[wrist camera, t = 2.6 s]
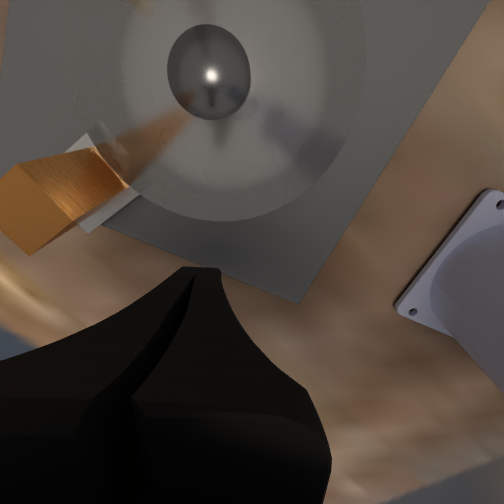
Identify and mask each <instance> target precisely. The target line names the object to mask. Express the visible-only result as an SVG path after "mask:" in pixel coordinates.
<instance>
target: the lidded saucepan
mask: <svg viewBox="0 0 504 504" xmlns="http://www.w3.org/2000/svg"><path fill="white" fill-rule="evenodd" d="M63 52H64V60H65V68H66V75H67V79H68V83H69V87H70V92H71V96H72V98H73V101H74V104H75V107H76V110H77V113H78V115H79V118H80V120H81V122H82V124H83V126H84V128H85V130H86V132H87V133H86V134H85V135H83V136H82V137H81V138H80V139H79V140H78V141H77V142H76V143H74V144H73V145H72V146H71V147H70V148H69V149H68V150H67V151H65V152H64V153H62V154H58V155H53V156H49V157H45V158H40V159H36V160H31V161H27V162H22V163H18V164H16V165H15V166H14V167H12V168H11V169H10V170H9V171H8V172H7V173H6V174H5V175H4V176H3V177H2V178H1V179H0V230H1V231H2V232H3V233H4V234H5V235H6V236H7V237H9V238H10V239H11V240H12V241H13V242H14V243H15V244H16V245H17V246H18V247H20V248H21V249H22V250H23V251H24V252H25V253H26V254H27V255H28V256H30V255H32V254H33V253H35V252H36V251H38V250H39V249H41V248H42V247H44V246H45V245H47V244H49V243H50V242H52V241H53V240H55V239H56V238H58V237H59V236H61V235H62V234H64V233H65V232H67V231H69V230H70V229H72V228H73V227H75V226H76V225H79V226H80V227H81V228H82V229H83V230H84V231H85V232H86V233H87V234H89V233H90V232H91V231H93V230H94V229H95V228H97V227H98V226H99V225H101V224H102V223H103V222H105V221H106V220H107V219H108V218H110V217H111V216H112V215H114V214H115V213H116V212H117V211H119V210H120V209H121V208H123V207H124V206H125V205H127V204H128V203H129V202H130V201H132V200H133V199H134V198H136V197H137V196H138V195H139V194H140V195H142V196H143V197H145V198H147V199H148V200H150V201H151V202H153V203H155V204H157V205H159V206H161V207H163V208H165V209H167V210H169V211H172V212H174V213H177V214H180V215H183V216H186V217H190V218H195V219H199V220H207V221H237V220H244V219H250V218H253V217H257V216H260V215H264V214H267V213H269V212H271V211H274V210H276V209H278V208H280V207H282V206H284V205H286V204H287V203H289V202H291V201H293V200H294V199H296V198H297V197H298V196H300V195H301V194H302V193H304V192H305V191H306V190H308V189H309V188H310V187H311V186H312V185H313V184H314V183H315V182H316V181H317V180H318V179H319V178H320V177H321V176H322V175H323V174H324V172H325V171H326V170H327V169H328V167H329V166H330V165H331V164H332V163H333V161H334V159H335V158H336V156H337V155H338V153H339V152H340V150H341V148H342V147H343V145H344V143H345V141H346V139H347V137H348V135H349V133H350V131H351V129H352V126H353V123H354V120H355V117H356V114H357V111H358V109H359V104H360V100H361V95H362V91H363V86H364V77H365V68H366V40H365V31H364V23H363V16H362V12H361V8H360V4H359V0H66V5H65V14H64V23H63Z"/></svg>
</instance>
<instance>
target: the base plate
mask: <svg viewBox="0 0 504 504" xmlns="http://www.w3.org/2000/svg"><path fill="white" fill-rule="evenodd" d="M489 1H490V0H359V4H360V8H361V12H362V16H363V23H364V31H365V40H366V68H365V77H364V86H363V91H362V95H361V100H360V104H359V109H358V111H357V114H356V117H355V120H354V123H353V126H352V129H351V131H350V133H349V135H348V137H347V139H346V141H345V143H344V145H343V147H342V148H341V150H340V152H339V153H338V155H337V156H336V158H335V159H334V161H333V163H332V164H331V165H330V166H329V167H328V169H327V170H326V171H325V172H324V174H323V175H322V176H321V177H320V178H319V179H318V180H317V181H316V182H315V183H314V184H313V185H312V186H311V187H310V188H309V189H308V190H306V191H305V192H304V193H302V194H301V195H300V196H298V197H297V198H296V199H294V200H293V201H291V202H289V203H287V204H286V205H284V206H282V207H280V208H278V209H276V210H274V211H271V212H269V213H267V214H264V215H260V216H257V217H253V218H250V219H244V220H237V221H207V220H199V219H195V218H190V217H186V216H183V215H180V214H177V213H174V212H172V211H169V210H167V209H165V208H163V207H161V206H159V205H157V204H155V203H153V202H151V201H150V200H148V199H147V198H145V197H143V196H142V195H140V194H139V195H138V196H137V197H136V198H134V199H133V200H132V201H130V202H129V203H128V204H127V205H125V206H124V207H123V208H121V209H120V210H119V211H117V212H116V213H115V214H114V215H112V216H111V217H110V218H108V219H107V220H106V221H105V222H103V223H102V224H101V225H103V226H105V227H108V228H110V229H113V230H115V231H118V232H120V233H123V234H125V235H128V236H130V237H133V238H135V239H138V240H140V241H143V242H145V243H148V244H150V245H153V246H155V247H157V248H160V249H162V250H165V251H167V252H170V253H172V254H175V255H177V256H180V257H182V258H185V259H187V260H190V261H192V262H195V263H197V264H200V265H202V266H205V267H207V268H219V270H220V271H221V273H222V274H224V275H227V276H229V277H232V278H234V279H237V280H239V281H242V282H244V283H247V284H249V285H252V286H254V287H257V288H259V289H262V290H264V291H266V292H269V293H271V294H274V295H276V296H279V297H281V298H284V299H286V300H289V301H291V302H294V303H296V304H299V303H300V301H301V300H302V298H303V296H304V295H305V293H306V292H307V290H308V289H309V287H310V285H311V284H312V282H313V281H314V279H315V277H316V276H317V274H318V273H319V271H320V270H321V268H322V266H323V265H324V263H325V262H326V260H327V258H328V257H329V255H330V254H331V252H332V250H333V249H334V247H335V246H336V244H337V243H338V241H339V239H340V238H341V236H342V235H343V233H344V231H345V230H346V228H347V227H348V225H349V223H350V222H351V220H352V219H353V217H354V216H355V214H356V212H357V211H358V209H359V208H360V206H361V204H362V203H363V201H364V200H365V198H366V196H367V195H368V193H369V192H370V190H371V189H372V187H373V185H374V184H375V182H376V181H377V179H378V177H379V176H380V174H381V173H382V171H383V169H384V168H385V166H386V165H387V163H388V162H389V160H390V158H391V157H392V155H393V154H394V152H395V150H396V149H397V147H398V146H399V144H400V142H401V141H402V139H403V138H404V136H405V135H406V133H407V131H408V130H409V128H410V127H411V125H412V123H413V122H414V120H415V119H416V117H417V116H418V114H419V112H420V111H421V109H422V108H423V106H424V104H425V103H426V101H427V100H428V98H429V96H430V95H431V93H432V92H433V90H434V89H435V87H436V85H437V84H438V82H439V81H440V79H441V77H442V76H443V74H444V73H445V71H446V69H447V68H448V66H449V65H450V63H451V62H452V60H453V58H454V57H455V55H456V54H457V52H458V50H459V49H460V47H461V46H462V44H463V42H464V41H465V39H466V38H467V36H468V35H469V33H470V31H471V30H472V28H473V27H474V25H475V23H476V22H477V20H478V19H479V17H480V15H481V14H482V12H483V11H484V9H485V8H486V6H487V4H488V3H489ZM65 5H66V0H9V8H8V16H7V25H6V34H5V43H4V52H3V61H2V70H1V79H0V179H1V178H2V177H3V176H4V175H5V174H6V173H7V172H8V171H9V170H10V169H11V168H12V167H14V166H15V165H16V164H18V163H22V162H27V161H31V160H36V159H40V158H45V157H49V156H53V155H58V154H62V153H64V152H65V151H67V150H68V149H69V148H70V147H71V146H72V145H73V144H74V143H76V142H77V141H78V140H79V139H80V138H81V137H82V136H83V135H85V134H86V133H87V132H86V130H85V128H84V126H83V124H82V122H81V120H80V118H79V115H78V113H77V110H76V107H75V104H74V101H73V98H72V96H71V92H70V87H69V83H68V79H67V75H66V68H65V60H64V52H63V23H64V14H65Z"/></svg>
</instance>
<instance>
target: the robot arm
mask: <svg viewBox="0 0 504 504" xmlns="http://www.w3.org/2000/svg"><path fill="white" fill-rule="evenodd" d="M500 200H501V204H500V205H499V206H498V207H496V204H497V203H498V202H499V201H500ZM413 308H414V310H413V311H411V312H409V310H411V309H413ZM395 310H396V311H397V313H398V314H400V315H401V316H404V317H406V318H408V319H411V320H413V321H415V322H418V323H420V324H423V325H425V326H427V327H430V328H432V329H434V330H437V331H439V332H441V333H444V334H446V335H448V336H451V337H453V338H455V340H456V341H457V342H458V343H459V344H460V345H461V346H462V348H463V349H464V350H465V351H466V352H467V353H468V354H469V355H470V357H471V358H472V359H473V360H474V361H475V362H476V363H477V364H478V366H479V367H480V368H481V369H482V370H483V371H484V372H485V373H486V375H487V376H488V377H489V378H490V379H491V380H492V381H493V382H494V384H495V385H496V386H497V387H498V388H499V389H500V390H501V391H502V393H503V394H504V193H503V192H501V191H498V190H495V189H488V190H486V191H484V192H483V193H482V194H481V195H480V196H479V198H478V199H477V200H476V202H475V203H474V204H473V205H472V207H471V208H470V209H469V211H468V212H467V213H466V214H465V216H464V217H463V218H462V219H461V221H460V222H459V223H458V225H457V226H456V227H455V228H454V230H453V231H452V232H451V233H450V235H449V236H448V237H447V239H446V240H445V241H444V242H443V244H442V245H441V246H440V247H439V249H438V250H437V251H436V253H435V254H434V255H433V256H432V258H431V259H430V260H429V261H428V263H427V264H426V265H425V267H424V268H423V269H422V270H421V272H420V273H419V274H418V276H417V277H416V278H415V279H414V281H413V282H412V283H411V284H410V286H409V287H408V288H407V290H406V291H405V292H404V293H403V295H402V296H401V297H400V298H399V300H398V301H397V302H396V304H395ZM331 465H332V457H331V453H330V448H329V444H328V441H327V437H326V434H325V432H324V429H323V426H322V423H321V421H320V418H319V416H318V413H317V411H316V409H315V407H314V404H313V402H312V400H311V398H310V396H309V394H308V392H307V390H306V389H305V388H303V387H302V386H301V385H300V384H298V383H297V382H296V381H294V380H293V379H292V378H290V377H289V376H288V375H286V374H285V373H284V372H283V371H281V370H280V369H279V368H278V367H277V366H276V365H274V364H273V363H272V362H271V361H270V360H269V359H268V358H267V357H266V355H265V354H264V353H263V352H262V351H261V350H260V349H259V348H258V347H257V346H256V344H255V343H254V342H253V341H252V340H251V338H250V337H249V336H248V334H247V333H246V332H245V330H244V329H243V327H242V326H241V324H240V323H239V321H238V319H237V318H236V316H235V314H234V312H233V310H232V308H231V306H230V304H229V302H228V300H227V297H226V294H225V292H224V289H223V286H222V282H221V271H220V270H219V268H203V267H181V268H180V269H179V270H177V271H176V272H175V273H173V274H172V275H171V276H170V277H168V278H167V279H166V280H165V281H163V282H162V283H161V284H159V285H158V286H157V287H155V288H154V289H153V290H151V291H150V292H148V293H147V294H145V295H144V296H142V297H141V298H139V299H138V300H136V301H135V302H133V303H132V304H131V305H129V306H127V307H126V308H124V309H122V310H121V311H119V312H117V313H116V314H114V315H112V316H110V317H108V318H106V319H104V320H103V321H101V322H99V323H97V324H95V325H93V326H90V327H88V328H86V329H84V330H81V331H79V332H77V333H75V334H72V335H70V336H68V337H66V338H63V339H61V340H58V341H56V342H53V343H51V344H48V345H45V346H43V347H40V348H37V349H34V350H32V351H29V352H26V353H23V354H20V355H17V356H14V357H11V358H8V359H5V360H1V361H0V504H323V501H324V497H325V493H326V489H327V485H328V482H329V478H330V474H331Z"/></svg>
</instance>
